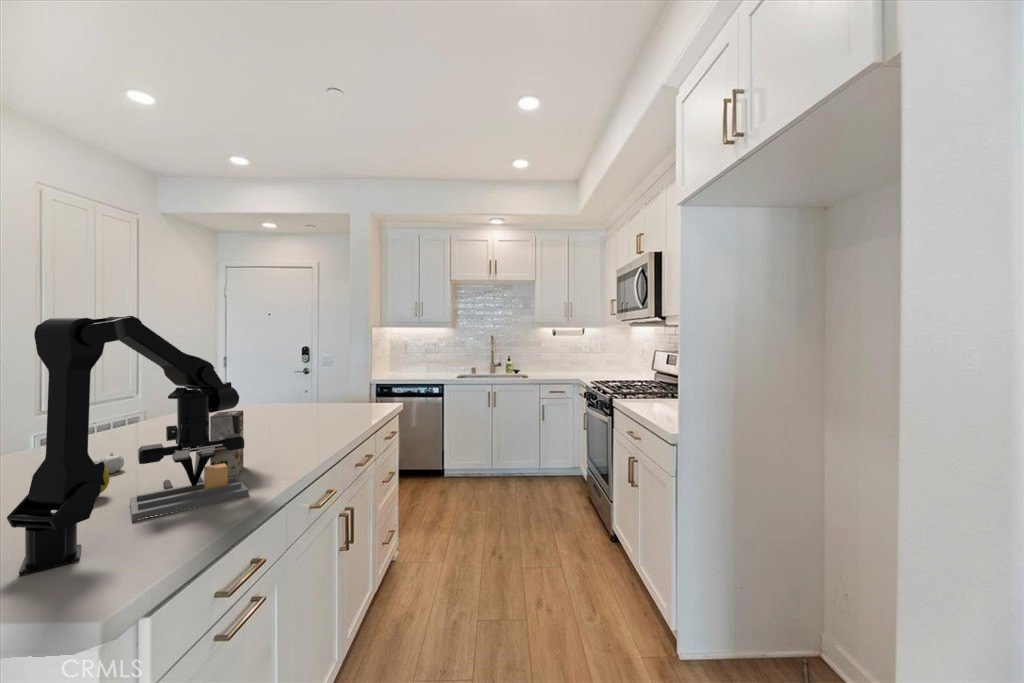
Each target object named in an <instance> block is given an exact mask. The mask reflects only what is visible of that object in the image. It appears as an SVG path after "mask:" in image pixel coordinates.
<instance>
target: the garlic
mask: <svg viewBox="0 0 1024 683" xmlns="http://www.w3.org/2000/svg"><path fill="white" fill-rule="evenodd" d="M109 454H110V455H107V456H105V457H103V458H101V459H100V458H99V460H98V462H104V465H105V467H106V468H107V470H108V472H109V473H111V474H113V473H112V472H114V473H116V471H117V472H119V471H120V470H122V469H123V468H124V466H125V459H124V458H123V456H121V455H117V454H115V455H114V452H110V453H109Z"/></svg>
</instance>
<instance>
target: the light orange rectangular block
mask: <svg viewBox="0 0 1024 683" xmlns="http://www.w3.org/2000/svg"><path fill="white" fill-rule="evenodd" d="M203 471H204V472H203V481H204V489H208V488H213V487H218V486H223V485H228V478H229V476H228V466H227V465H226V464H225V463H223V464H217V465H211V466H210V465H207V466H206V465H205V467H204V469H203Z"/></svg>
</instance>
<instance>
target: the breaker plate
mask: <svg viewBox="0 0 1024 683" xmlns="http://www.w3.org/2000/svg"><path fill="white" fill-rule="evenodd" d="M249 494H250V493H249V488H248V487H247V486H246V485H245V484H244V483H243V481H242V480H240V479H239V477H237V476H228V485H223V486H218V487H213V488H208V489H204V482H203V483H197V485H196V486H192V485H191V484H187V485H182V486H177V487H173V488H171V489H166V490H165V489H161V490H156V491H151V492H145V493H141V494H136V496H133V497H129V507H130V508H131V509H130V516H131V522H132V521H133V522H135V521H134V520H138V519H142V518H145V517H150V516H155V515H160V514H165V515H167V514H166V513H169V514H172V513H171V512H174V513H177V512H176V511H178V512H181V511H180V510H183V511H185V510H184V509H187V510H190V509H189V508H192V509H195V508H194V507H196V508H200V507H199V506H201V507H205V506H209V505H214V504H218V502H219V503H223V502H222V501H224V502H228V501H231V499H233V500H237V499H241V498H245V497H249ZM236 498H237V499H236ZM227 500H228V501H227ZM204 505H205V506H204ZM160 516H161V515H160ZM142 520H143V519H142ZM138 521H139V520H138Z"/></svg>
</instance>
